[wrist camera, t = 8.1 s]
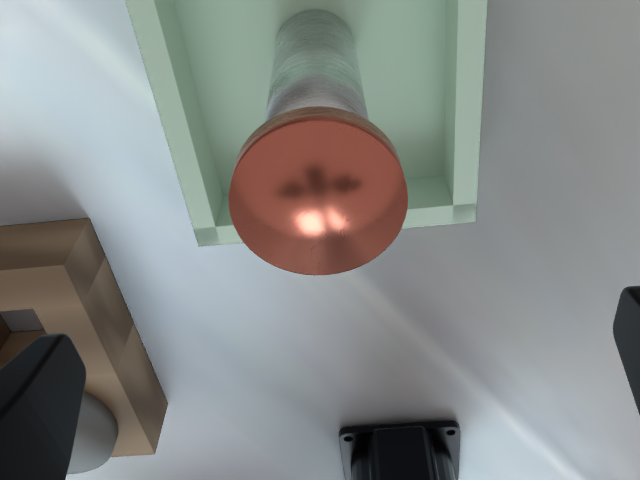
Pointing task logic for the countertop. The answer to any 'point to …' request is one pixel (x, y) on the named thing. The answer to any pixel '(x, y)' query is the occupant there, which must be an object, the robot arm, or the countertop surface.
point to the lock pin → (317, 159)
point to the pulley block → (83, 335)
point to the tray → (377, 80)
